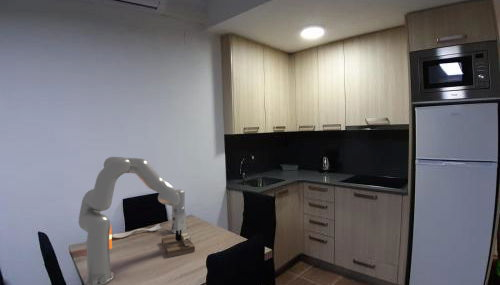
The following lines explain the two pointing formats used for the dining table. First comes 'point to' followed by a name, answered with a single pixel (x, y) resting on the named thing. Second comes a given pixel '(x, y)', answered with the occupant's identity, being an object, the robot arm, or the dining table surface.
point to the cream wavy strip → (121, 235)
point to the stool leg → (186, 239)
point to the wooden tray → (176, 246)
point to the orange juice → (110, 239)
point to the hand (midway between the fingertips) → (178, 240)
